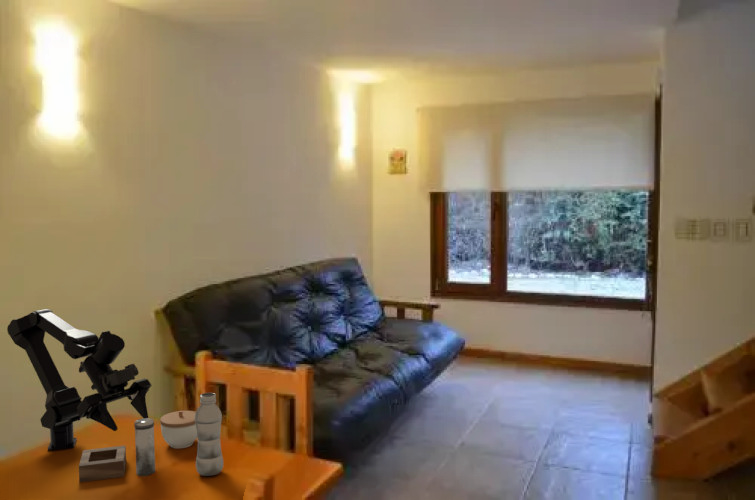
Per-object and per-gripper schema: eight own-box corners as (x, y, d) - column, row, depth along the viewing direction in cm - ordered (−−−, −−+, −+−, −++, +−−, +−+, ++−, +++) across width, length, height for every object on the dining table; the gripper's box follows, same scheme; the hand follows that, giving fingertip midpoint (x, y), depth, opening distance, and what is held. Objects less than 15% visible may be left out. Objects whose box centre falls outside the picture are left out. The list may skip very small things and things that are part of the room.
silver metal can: (136, 469, 161) (134, 419, 160) (155, 467, 163) (154, 417, 161) (135, 477, 157) (133, 425, 156) (155, 474, 158) (154, 423, 157)
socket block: (83, 465, 163) (83, 450, 163) (126, 460, 167) (125, 445, 166) (79, 482, 154) (78, 466, 154) (124, 476, 157) (123, 460, 157)
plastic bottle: (216, 480, 155) (214, 400, 153) (190, 478, 156) (188, 398, 154) (228, 469, 161) (226, 391, 159) (203, 466, 163) (201, 390, 161)
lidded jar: (164, 454, 170) (163, 420, 169) (158, 441, 179) (157, 408, 179) (205, 447, 175) (204, 414, 174) (197, 434, 184) (196, 402, 184)
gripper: (82, 364, 154) (114, 417, 149) (145, 348, 170) (176, 395, 166) (63, 391, 159) (94, 443, 154) (126, 373, 175) (156, 419, 170)
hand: (132, 424), depth 161 cm, fingers open, 9 cm apart
